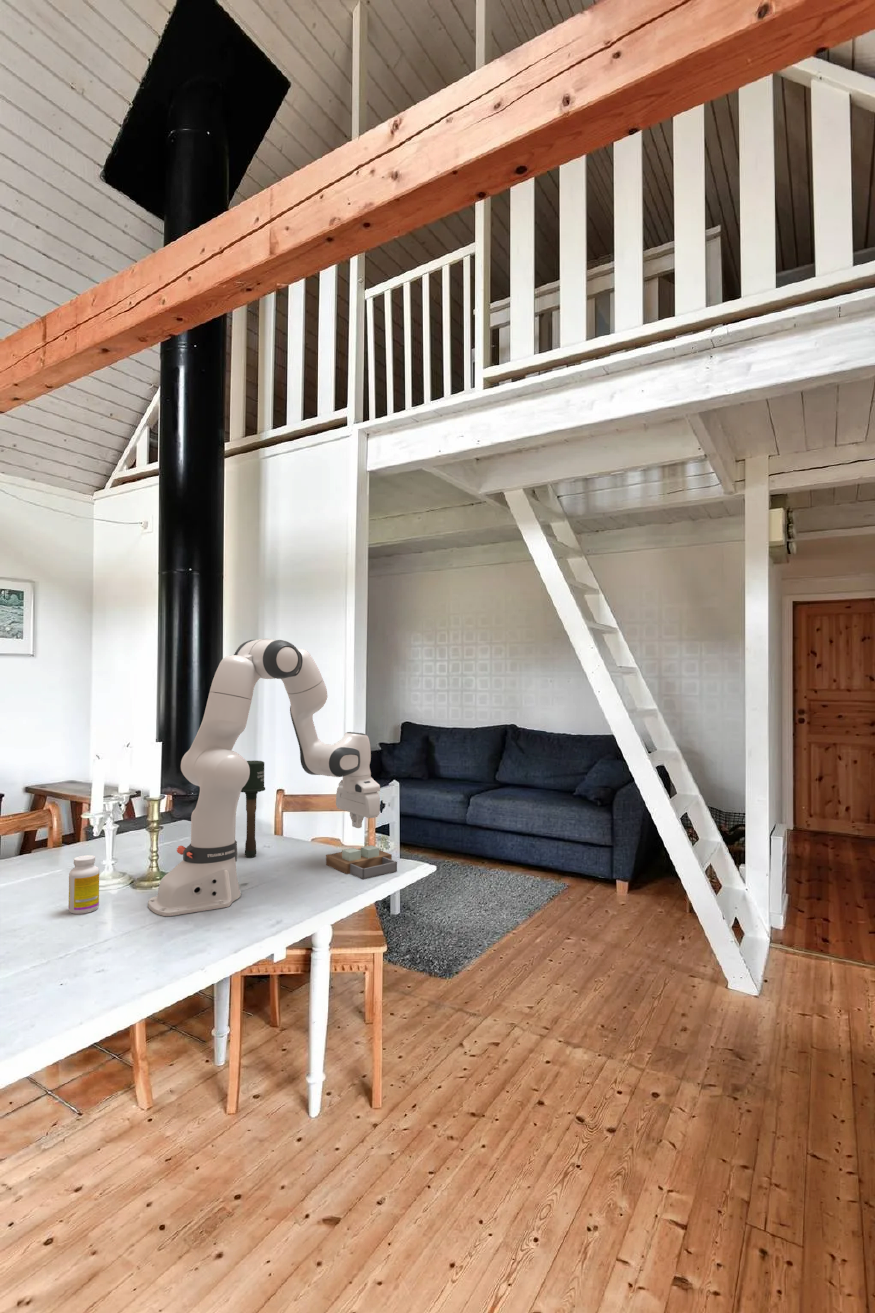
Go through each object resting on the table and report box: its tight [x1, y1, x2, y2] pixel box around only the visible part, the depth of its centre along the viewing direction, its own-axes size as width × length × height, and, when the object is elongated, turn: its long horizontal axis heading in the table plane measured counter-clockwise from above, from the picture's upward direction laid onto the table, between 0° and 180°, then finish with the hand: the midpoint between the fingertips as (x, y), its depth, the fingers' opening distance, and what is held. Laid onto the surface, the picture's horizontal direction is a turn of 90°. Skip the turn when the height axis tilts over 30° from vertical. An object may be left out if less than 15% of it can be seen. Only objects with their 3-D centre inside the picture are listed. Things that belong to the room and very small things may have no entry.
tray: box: [349, 857, 398, 880], centre depth 196 cm, size 12×7×3 cm, turn 130°
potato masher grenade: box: [241, 760, 266, 859], centre depth 212 cm, size 8×9×30 cm
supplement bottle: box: [68, 854, 100, 915], centre depth 164 cm, size 7×7×13 cm
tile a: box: [341, 847, 361, 861], centre depth 200 cm, size 4×4×2 cm
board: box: [325, 847, 393, 875], centre depth 204 cm, size 16×12×3 cm
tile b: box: [360, 844, 380, 858], centre depth 203 cm, size 4×4×2 cm
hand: (357, 827), depth 210 cm, fingers closed
